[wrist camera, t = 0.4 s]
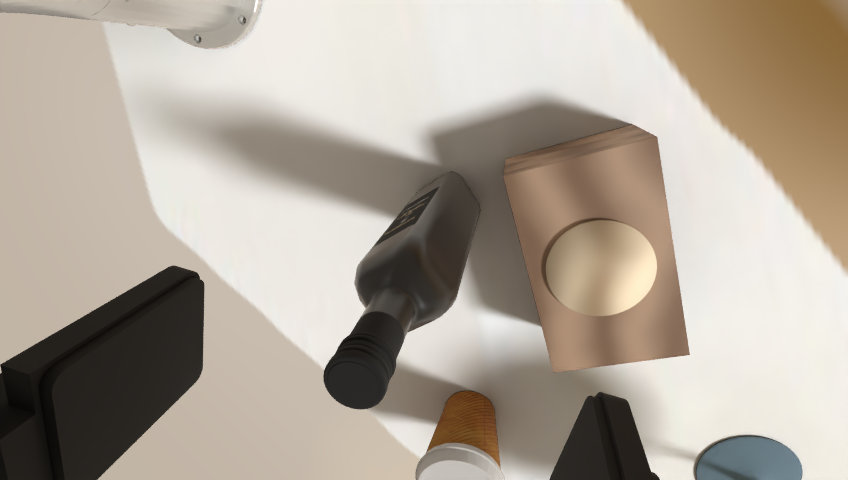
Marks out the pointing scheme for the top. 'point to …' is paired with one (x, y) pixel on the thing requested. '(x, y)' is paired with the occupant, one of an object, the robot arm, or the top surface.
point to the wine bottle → (404, 287)
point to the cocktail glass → (749, 461)
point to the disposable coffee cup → (463, 442)
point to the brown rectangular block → (599, 249)
